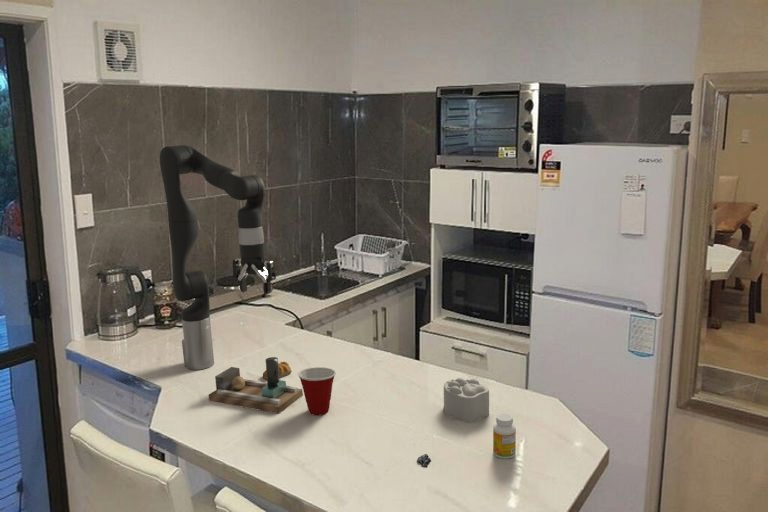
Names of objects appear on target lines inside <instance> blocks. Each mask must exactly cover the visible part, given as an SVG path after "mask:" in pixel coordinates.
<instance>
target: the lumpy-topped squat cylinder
mask: <svg viewBox="0 0 768 512" xmlns="http://www.w3.org/2000/svg"><path fill="white" fill-rule="evenodd" d="M443 410H444V413H445V414H446V416H447V415H448V417H451V418H452V419H454V420H457V421H460V422H463V423H476V422H477V421H480V419H485V418H486V417H488V416H489V415H490V389H489V387H487V386H485V385H483V384H481V383H480V382H479V380H478V379H476V378H470V379H465V378H462V377H458V378H456V379H450V380H447V381H445V383H444V385H443Z"/></svg>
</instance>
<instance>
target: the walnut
mask: <svg viewBox="0 0 768 512" xmlns="http://www.w3.org/2000/svg"><path fill="white" fill-rule="evenodd" d="M244 379H245V378H244V377H243V376H241V375H240V376H237V377H235V378H234V379H233V380H232V386H233V388H234V389H237V390H239V389H242V388H243V387H244V385H245V380H244Z"/></svg>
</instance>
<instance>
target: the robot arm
mask: <svg viewBox="0 0 768 512" xmlns="http://www.w3.org/2000/svg"><path fill="white" fill-rule="evenodd" d="M159 167H160V173H161V177H162V183H163V188H164V192H165V193H164V194H165V201H166V208H167V221H168V222H167V223H168V229H169V230H168V231H169V239H170V249H171V257H172V258H171V259H172V285H173V286H172V287H173V293H174V296H175V299H176V300H178V301H180V302H185V301H190V300H194V301H193V302H192V303H190V304H189V306H187V307H185V308H183V309H182V311H181V315H180V317H181V324H182V334H183V339H182V340H181V346H182V355H183V357H182V358H183V363H184V364H183V365H184V367H186V368H187V369H189V370H195V371H196V370H204V369H208V368H210V367H213V366H214V364H215V359H214V358H215V357H214V345H213V337H212V335H213V334H212V326H211V315H210V314H211V313H210V310H211V306H210V305H211V304H210V284H209V278H208V276H207V274H206V273H205V272H204V271H203V270H193V271H189V272H186V267H187V261H188V258H189V255H190V253H191V251H192V249H193V247H194V245H195V243H196V242H197V238H198V235H199V223H198V214H197V211H196V209H195V208H194V206H193V205H192V203H191V202H190V201H189V199H188V197H187V196H186V195H185V193H184V191H183V188H182V184H181V176H180V175H186V174H191V173H193V174H199V175H202V176H203V179H204V180H205V181H206V182H207V183H208V184H210V185H211V186H213V187H215V188H218V189H220V190H221V191H224V192H225V193H226V194H227V195H229V197H231V199H235V200H238V201H246V203H245V205H244V206H243V207H241V208H240V209H238V210H237V222H238V223H237V226H238V245H239V257H237V258H235V259H232V277H233V279H238V281H239V290H240V291H241V293H245V292H248V284H247V283H248V282H247V279H246V278H247V277H248V275H255V276H258V277H259V278H260V279H261V280H262V281H263V283H262V285H263V294H264V295H265V296H266V295H269V294H270V293H271V290H272V289H271V288H272V286H271V282H272V281H275V280H276V279H277V276H276V275H277V273H276V267H275V262H274V260H269V261H267V260H266V259H265V256H266V252H265V251H266V250H265V249H266V247H265V236H264V235H265V234H264V230H263V229H264V228H263V221H262V210H263V207H264V206H263V205H264V204H263V203H264V199H265V195H266V194H265V193H266V187H265V183H264V181H263V179H262V178H261V176H259V175H257V174H251V175H244V176H243V175H242V176H240V174H239V172H238V171H236V170H235V169H233V168H230V167H228V166H225V165H223V164H220V163H218V162H216V161H214V160H212V159H210V158H209V157H208V156H205V155H204V154H203V153H202V152H199V150H197V149H195V148H194V147H192V146H190V145H186V144H185V145H182V144H181V145H168V146H163V147H162V149H161V150H160V153H159Z"/></svg>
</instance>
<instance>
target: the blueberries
mask: <svg viewBox="0 0 768 512" xmlns="http://www.w3.org/2000/svg"><path fill="white" fill-rule="evenodd" d="M416 462H417V463H418V465H420V467H424V468H428V465H429V464H430V463H431V462H432V459H431V458H430V457H429V455H428V454H427V453H425V454H424V453H423V454H422V455H420V456H418V458H417V460H416Z"/></svg>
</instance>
